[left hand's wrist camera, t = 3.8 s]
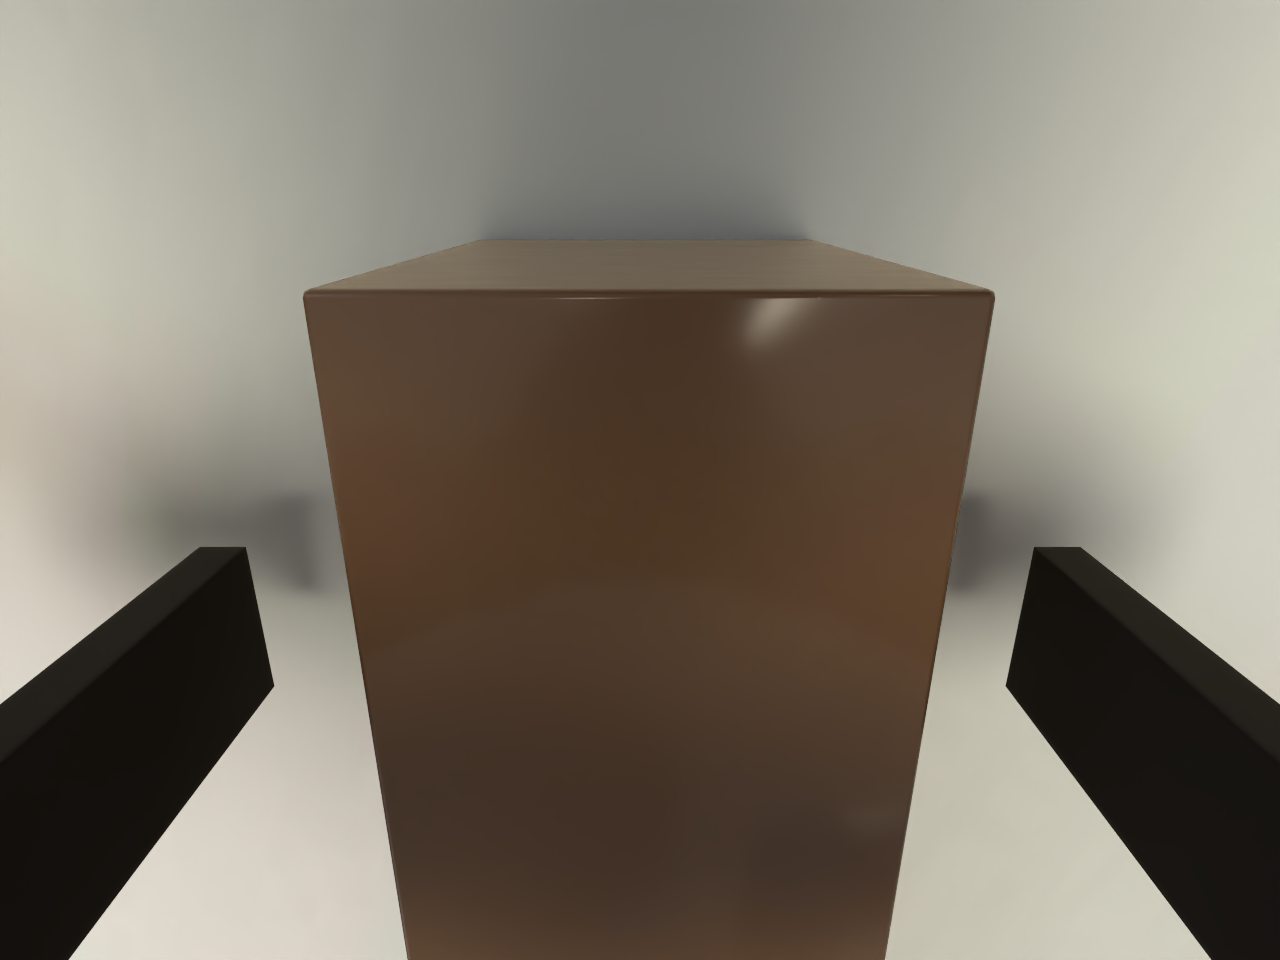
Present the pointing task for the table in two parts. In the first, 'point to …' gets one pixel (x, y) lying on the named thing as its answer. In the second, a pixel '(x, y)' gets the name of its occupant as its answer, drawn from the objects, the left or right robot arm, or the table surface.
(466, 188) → the table surface
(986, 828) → the table surface
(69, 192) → the table surface
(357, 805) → the table surface
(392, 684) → the beam
